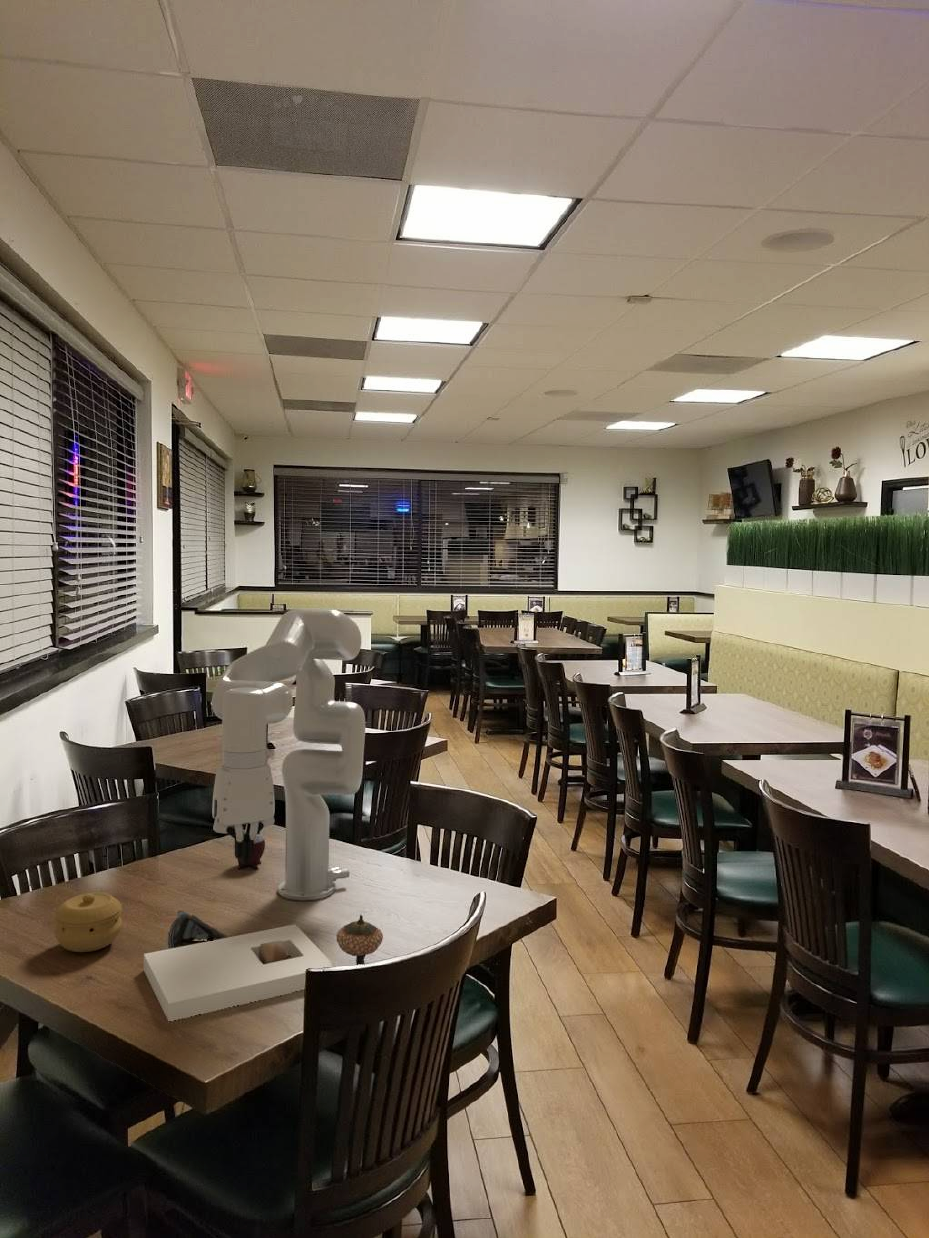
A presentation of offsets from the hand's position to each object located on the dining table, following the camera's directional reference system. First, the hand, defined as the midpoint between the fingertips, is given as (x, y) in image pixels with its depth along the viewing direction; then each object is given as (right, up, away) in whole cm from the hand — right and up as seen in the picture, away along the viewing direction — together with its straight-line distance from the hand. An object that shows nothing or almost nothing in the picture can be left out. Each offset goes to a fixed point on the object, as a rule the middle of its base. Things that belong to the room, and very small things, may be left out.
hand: (244, 860), depth 156 cm
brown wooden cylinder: (+3, -18, +1) cm, 18 cm away
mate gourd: (-13, -17, +54) cm, 58 cm away
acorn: (+20, -21, +3) cm, 29 cm away
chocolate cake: (-10, -20, +12) cm, 25 cm away
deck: (-1, -20, -1) cm, 20 cm away
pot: (-32, -19, +10) cm, 38 cm away
